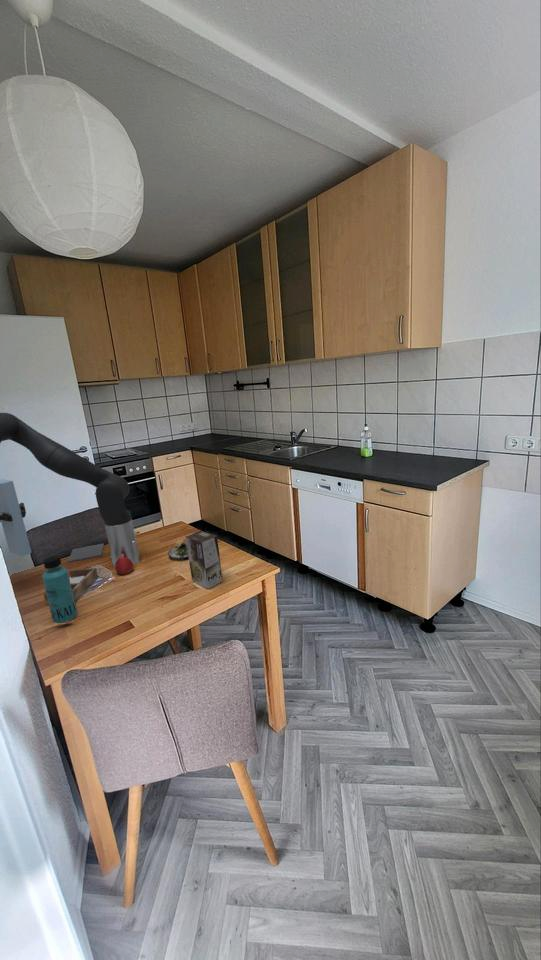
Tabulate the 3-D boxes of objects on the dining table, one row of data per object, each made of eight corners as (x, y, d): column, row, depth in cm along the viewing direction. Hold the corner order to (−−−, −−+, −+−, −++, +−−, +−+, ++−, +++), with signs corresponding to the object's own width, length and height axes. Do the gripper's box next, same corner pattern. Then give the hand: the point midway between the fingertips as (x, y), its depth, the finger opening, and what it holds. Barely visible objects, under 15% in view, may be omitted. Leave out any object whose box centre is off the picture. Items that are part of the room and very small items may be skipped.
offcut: (66, 584, 128) (65, 579, 127) (85, 580, 129) (84, 575, 129) (63, 592, 123) (61, 586, 122) (83, 588, 125) (82, 582, 124)
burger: (184, 564, 139) (181, 545, 137) (161, 558, 145) (158, 540, 143) (206, 550, 149) (203, 533, 147) (184, 545, 155) (181, 528, 153)
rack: (73, 582, 132) (70, 569, 130) (98, 581, 131) (96, 568, 130) (46, 609, 116) (42, 595, 115) (74, 608, 116) (71, 593, 115)
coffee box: (223, 581, 125) (218, 535, 120) (208, 589, 120) (201, 542, 116) (206, 573, 131) (200, 529, 127) (191, 581, 126) (184, 536, 122)
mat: (104, 544, 162) (103, 543, 162) (101, 556, 151) (101, 554, 151) (73, 550, 159) (72, 549, 159) (68, 562, 148) (67, 561, 148)
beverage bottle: (60, 616, 112) (44, 554, 107) (83, 613, 113) (68, 551, 108) (49, 630, 106) (32, 565, 101) (74, 627, 106) (58, 562, 101)
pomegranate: (118, 581, 130) (113, 560, 128) (116, 574, 135) (112, 554, 133) (135, 576, 132) (131, 555, 130) (133, 569, 137) (129, 549, 135)
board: (9, 552, 124) (-11, 481, 118) (19, 548, 127) (0, 478, 121) (21, 556, 120) (1, 483, 114) (31, 552, 123) (12, 480, 116)
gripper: (-37, 505, 120) (-12, 512, 111) (11, 492, 132) (37, 498, 122) (-30, 527, 122) (-5, 536, 113) (17, 513, 134) (43, 519, 124)
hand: (17, 516), depth 118 cm, fingers closed on board, 3 cm apart
